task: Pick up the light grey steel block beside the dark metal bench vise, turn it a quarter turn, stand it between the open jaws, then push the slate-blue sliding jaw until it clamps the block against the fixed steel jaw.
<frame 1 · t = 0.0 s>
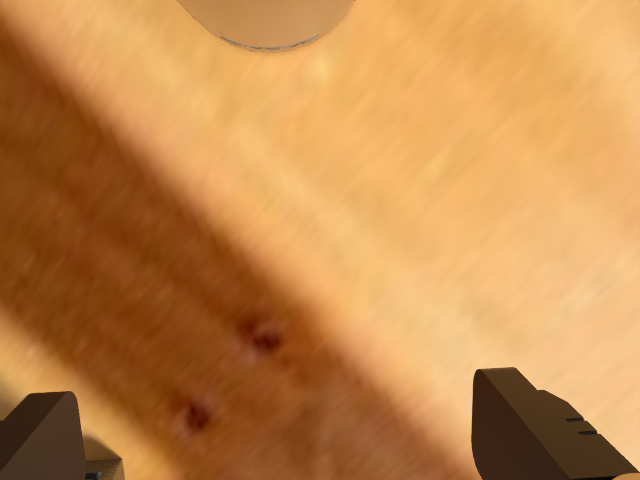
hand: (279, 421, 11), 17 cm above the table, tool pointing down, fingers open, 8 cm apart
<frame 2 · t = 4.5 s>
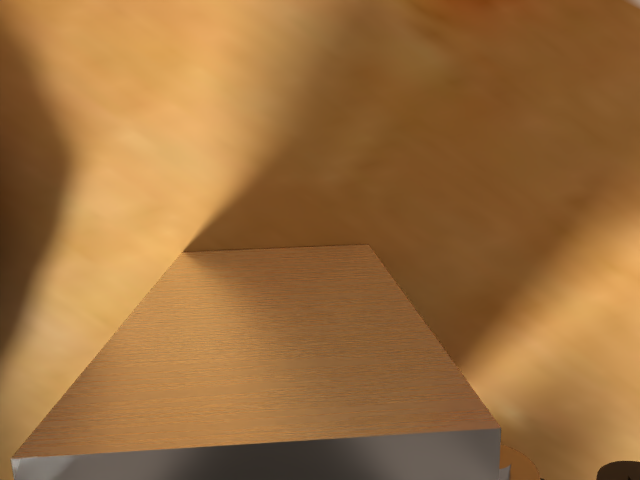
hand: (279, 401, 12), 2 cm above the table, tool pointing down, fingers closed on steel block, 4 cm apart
steel block: (281, 366, 13), on the table, touching gripper
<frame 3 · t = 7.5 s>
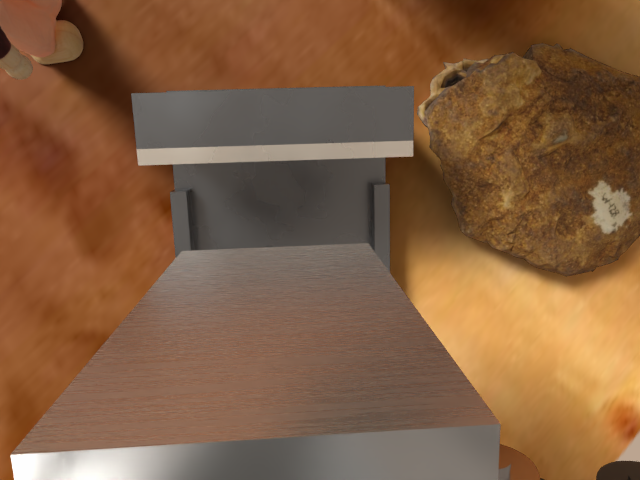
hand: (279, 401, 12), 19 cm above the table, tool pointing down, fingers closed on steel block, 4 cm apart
decorative rock: (528, 156, 30), on the table
vise: (284, 254, 30), on the table
grandmother figurine: (36, 14, 27), on the table
steel block: (281, 364, 13), point 17 cm above the table, touching gripper
when the fingers open (4 cm above the table, at t = 10.5 s): steel block drops 1 cm, resting on vise.
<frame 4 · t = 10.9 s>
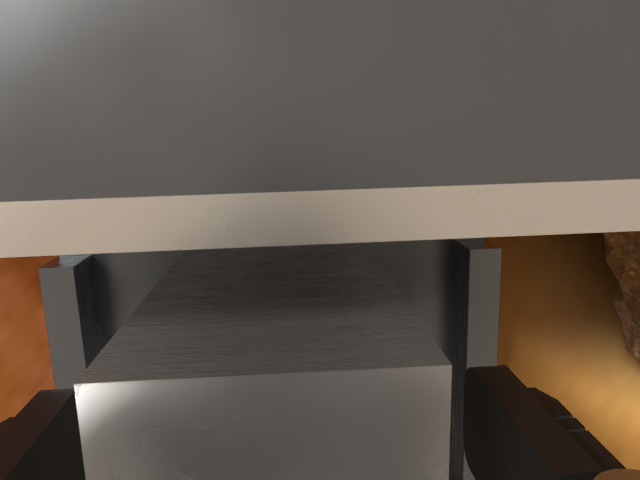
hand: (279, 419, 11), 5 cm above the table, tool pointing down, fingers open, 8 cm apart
vise: (283, 370, 16), on the table
steel block: (281, 344, 15), point 1 cm above the table, touching vise
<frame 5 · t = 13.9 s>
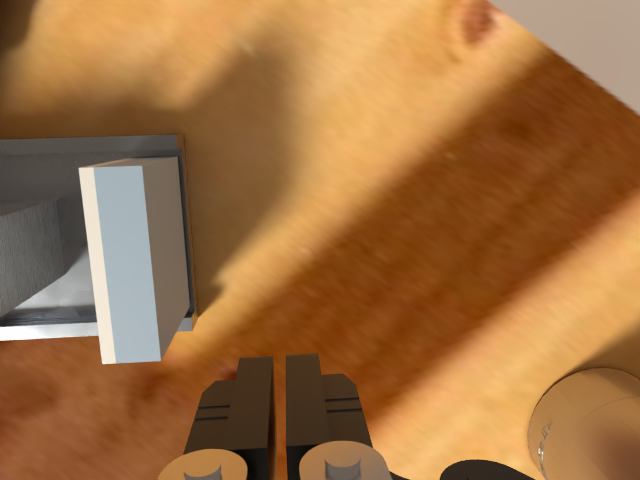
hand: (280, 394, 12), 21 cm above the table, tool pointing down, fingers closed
vise: (37, 235, 31), on the table
sliding jaw: (143, 249, 27), point 5 cm above the table, slide at 12.0 cm
steel block: (6, 239, 30), point 1 cm above the table, touching vise
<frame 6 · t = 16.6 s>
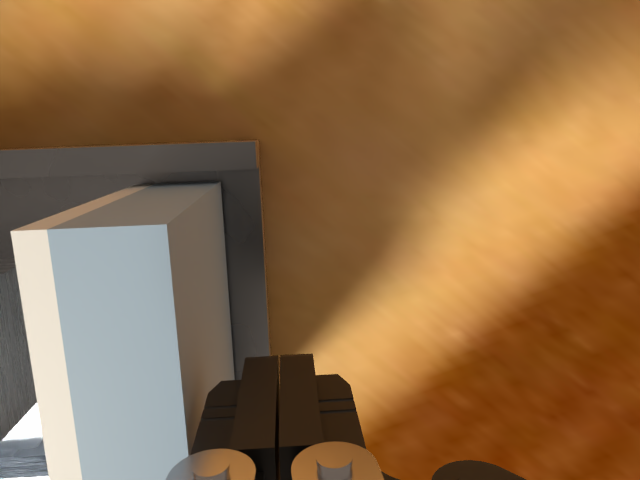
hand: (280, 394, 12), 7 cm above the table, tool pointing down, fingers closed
vise: (5, 314, 18), on the table
sliding jaw: (163, 369, 14), point 5 cm above the table, slide at 11.0 cm, touching gripper
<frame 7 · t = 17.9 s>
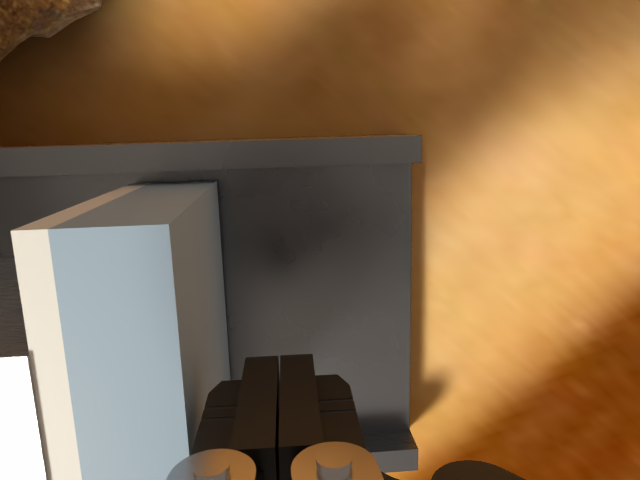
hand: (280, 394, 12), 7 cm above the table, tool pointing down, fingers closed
vise: (148, 306, 18), on the table
sliding jaw: (161, 369, 14), point 5 cm above the table, slide at 6.0 cm, touching gripper, steel block
steel block: (52, 321, 17), point 1 cm above the table, touching sliding jaw, vise
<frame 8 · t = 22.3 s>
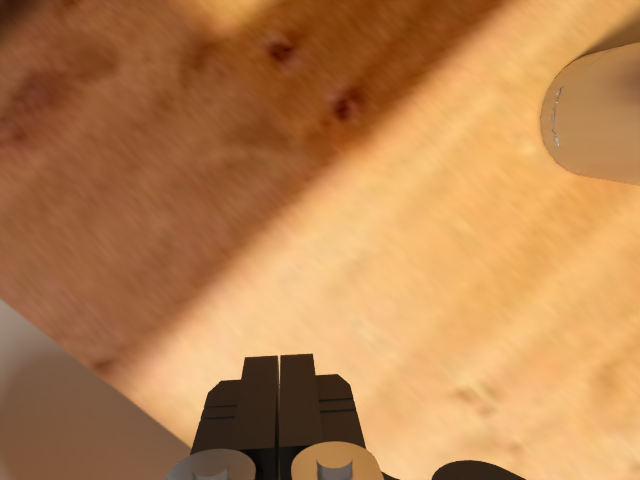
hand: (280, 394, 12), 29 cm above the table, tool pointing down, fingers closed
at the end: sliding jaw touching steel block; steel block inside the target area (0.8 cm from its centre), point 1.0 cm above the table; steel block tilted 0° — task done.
